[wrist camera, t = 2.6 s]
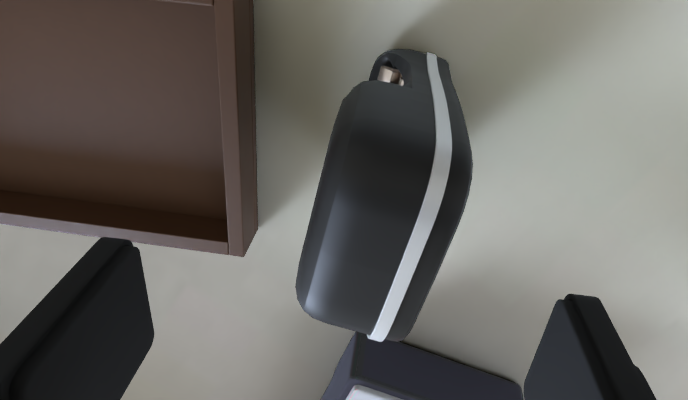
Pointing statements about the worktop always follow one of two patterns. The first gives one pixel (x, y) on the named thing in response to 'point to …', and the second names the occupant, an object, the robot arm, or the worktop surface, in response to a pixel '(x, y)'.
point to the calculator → (410, 375)
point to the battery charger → (387, 198)
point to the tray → (130, 120)
